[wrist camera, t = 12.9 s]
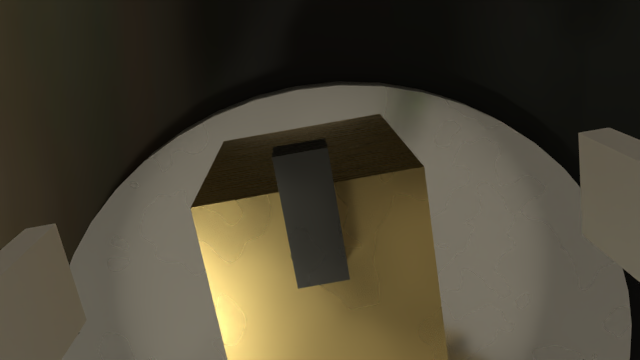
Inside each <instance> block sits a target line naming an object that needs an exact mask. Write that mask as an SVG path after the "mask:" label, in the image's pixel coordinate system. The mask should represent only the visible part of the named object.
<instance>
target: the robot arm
mask: <svg viewBox="0 0 640 360" xmlns="http://www.w3.org/2000/svg"><path fill="white" fill-rule="evenodd" d="M578 136H579V161H580V186H581V211H582V235H583V236H584V237H585V238H587V239H588V240H589V241H590V242H591V243H593V244H594V245H595V246H596V247H598V248H599V249H600V250H601V251H602V252H604V253H605V254H606V255H607V256H609V257H610V258H611V259H612V260H613V261H615V262H616V263H617V264H618V265H619V266H621V267H622V268H623V269H624V270H626V271H627V272H628V273H629V274H630V275H632V276H633V277H634V278H635V279H637V280H638V281H639V282H640V140H638V139H636V138H634V137H631V136H629V135H626V134H624V133H621V132H619V131H616V130H614V129H612V128H603V129H598V130H592V131H586V132H580V133H578ZM86 321H87V319H86V316H85V313H84V310H83V307H82V304H81V301H80V298H79V295H78V291H77V288H76V285H75V282H74V279H73V276H72V273H71V270H70V267H69V263H68V260H67V257H66V254H65V251H64V248H63V245H62V242H61V239H60V235H59V232H58V229H57V226H56V224H50V225H44V226H39V227H33V228H27V229H25V230H23V231H22V232H21V233H20V234H19V235H18V236H16V237H15V238H14V239H13V240H12V241H11V242H9V243H8V244H7V245H6V246H5V247H4V248H2V249H1V250H0V360H62V358H63V357H64V355H65V353H66V352H67V350H68V349H69V347H70V346H71V344H72V343H73V341H74V340H75V338H76V336H77V335H78V333H79V332H80V330H81V329H82V327H83V326H84V324H85V322H86Z"/></svg>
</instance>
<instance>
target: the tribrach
mask: <svg viewBox="0 0 640 360" xmlns="http://www.w3.org/2000/svg"><path fill="white" fill-rule="evenodd" d="M375 114H381V116H382V117H383V118H384V119H385V120H386V122H387V123H388V124H389V125H390V126H391V128H392V129H393V130H394V131H395V132H396V134H397V135H398V136H399V137H400V138H401V139H402V141H403V142H404V143H405V144H406V145H407V147H408V148H409V149H410V150H411V151H412V153H413V154H414V155H415V156H416V157H417V159H418V160H419V161H420V162H421V163H422V164H423V166H424V168H425V176H426V184H427V192H428V201H429V209H430V217H431V225H432V233H433V241H434V249H435V257H436V265H437V274H438V282H439V290H440V298H441V306H442V314H443V322H444V330H445V338H446V347H447V355H448V360H630V348H631V328H632V323H631V313H630V302H629V292H628V288H627V284H626V280H625V276H624V272H623V268H622V267H621V266H619V265H618V264H617V263H616V262H615V261H613V260H612V259H611V258H610V257H609V256H607V255H606V254H605V253H604V252H602V251H601V250H600V249H599V248H598V247H596V246H595V245H594V244H593V243H591V242H590V241H589V240H588V239H587V238H585V237H584V236H583V235H582V211H581V188H580V187H579V185H578V184H577V183H576V182H575V181H574V180H573V178H572V177H571V176H570V175H569V174H568V173H567V171H566V170H565V169H564V168H563V167H562V166H561V165H560V164H558V163H557V162H556V161H555V160H554V159H553V158H551V157H550V156H549V155H548V154H547V153H546V152H545V151H543V150H542V149H541V148H540V147H539V146H538V145H537V144H535V143H534V142H532V141H531V140H529V139H528V138H526V137H525V136H523V135H521V134H520V133H518V132H517V131H515V130H514V129H512V128H511V127H509V126H508V125H506V124H504V123H503V122H501V121H499V120H497V119H496V118H494V117H492V116H490V115H488V114H486V113H483V112H481V111H479V110H477V109H475V108H472V107H470V106H468V105H466V104H464V103H462V102H459V101H457V100H455V99H451V98H448V97H445V96H441V95H438V94H435V93H431V92H428V91H425V90H421V89H418V88H411V87H405V86H399V85H393V84H386V83H380V82H346V81H336V82H326V83H317V84H308V85H299V86H293V87H289V88H285V89H281V90H277V91H273V92H269V93H265V94H261V95H257V96H254V97H252V98H249V99H246V100H244V101H241V102H239V103H236V104H234V105H231V106H228V107H226V108H223V109H221V110H218V111H217V112H215V113H213V114H211V115H209V116H208V117H206V118H204V119H202V120H200V121H199V122H197V123H195V124H193V125H191V126H189V127H188V128H186V129H184V130H183V131H181V132H180V133H179V134H177V135H176V136H175V137H173V138H172V139H171V140H169V141H168V142H167V143H165V144H164V145H163V146H161V147H160V148H159V149H157V150H156V151H155V152H153V153H152V154H151V155H150V156H149V157H148V158H147V159H146V160H145V161H144V162H143V163H142V164H141V165H140V166H139V167H138V168H137V169H136V170H135V171H134V172H133V173H132V174H131V175H130V176H129V177H128V178H127V179H126V180H125V181H124V182H123V183H122V184H121V185H120V186H119V187H118V188H117V189H116V190H115V191H114V193H113V194H112V195H111V197H110V198H109V199H108V201H107V202H106V203H105V205H104V206H103V207H102V209H101V210H100V211H99V213H98V214H97V215H96V216H95V218H94V219H93V220H92V222H91V224H90V226H89V227H88V229H87V231H86V233H85V235H84V237H83V238H82V240H81V242H80V244H79V246H78V248H77V249H76V251H75V253H74V255H73V258H72V260H71V263H70V266H69V267H70V270H71V273H72V276H73V279H74V282H75V285H76V288H77V291H78V295H79V298H80V301H81V304H82V307H83V310H84V313H85V316H86V319H87V321H86V322H85V324H84V326H83V327H82V329H81V330H80V332H79V333H78V335H77V336H76V338H75V340H74V341H73V343H72V344H71V346H70V347H69V349H68V350H67V352H66V353H65V355H64V357H63V358H62V360H228V359H227V355H226V351H225V347H224V343H223V339H222V335H221V331H220V327H219V323H218V319H217V314H216V310H215V306H214V302H213V298H212V294H211V290H210V286H209V282H208V278H207V273H206V269H205V265H204V261H203V257H202V253H201V249H200V245H199V241H198V237H197V233H196V228H195V224H194V220H193V216H192V212H191V206H192V204H193V202H194V200H195V198H196V196H197V194H198V192H199V190H200V188H201V186H202V184H203V182H204V180H205V178H206V176H207V174H208V172H209V170H210V168H211V166H212V164H213V162H214V160H215V158H216V156H217V154H218V152H219V150H220V148H221V146H222V144H223V142H224V141H228V140H233V139H239V138H245V137H250V136H256V135H262V134H267V133H273V132H279V131H284V130H290V129H296V128H301V127H307V126H313V125H318V124H324V123H330V122H336V121H341V120H347V119H353V118H358V117H364V116H370V115H375Z"/></svg>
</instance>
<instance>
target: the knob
mask: <svg viewBox="0 0 640 360" xmlns="http://www.w3.org/2000/svg"><path fill="white" fill-rule="evenodd" d="M191 212H192V216H193V220H194V224H195V228H196V233H197V237H198V241H199V245H200V249H201V253H202V257H203V261H204V265H205V269H206V273H207V278H208V282H209V286H210V290H211V294H212V298H213V302H214V306H215V310H216V314H217V319H218V323H219V327H220V331H221V335H222V339H223V343H224V347H225V351H226V355H227V359H228V360H448V355H447V347H446V338H445V330H444V322H443V314H442V306H441V298H440V290H439V282H438V274H437V265H436V257H435V249H434V241H433V233H432V225H431V217H430V209H429V201H428V192H427V184H426V176H425V168H424V166H423V164H422V163H421V162H420V161H419V160H418V159H417V157H416V156H415V155H414V154H413V153H412V151H411V150H410V149H409V148H408V147H407V145H406V144H405V143H404V142H403V141H402V139H401V138H400V137H399V136H398V135H397V134H396V132H395V131H394V130H393V129H392V128H391V126H390V125H389V124H388V123H387V122H386V120H385V119H384V118H383V117H382V116H381V114H375V115H370V116H364V117H358V118H353V119H347V120H341V121H336V122H330V123H324V124H318V125H313V126H307V127H301V128H296V129H290V130H284V131H279V132H273V133H267V134H262V135H256V136H250V137H245V138H239V139H233V140H228V141H224V142H223V144H222V146H221V148H220V150H219V152H218V154H217V156H216V158H215V160H214V162H213V164H212V166H211V168H210V170H209V172H208V174H207V176H206V178H205V180H204V182H203V184H202V186H201V188H200V190H199V192H198V194H197V196H196V198H195V200H194V202H193V204H192V206H191Z"/></svg>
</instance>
